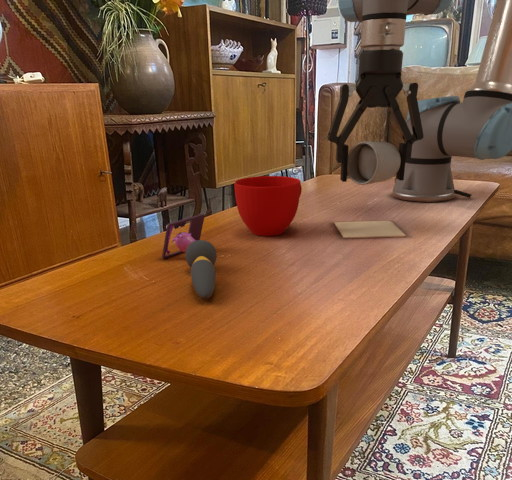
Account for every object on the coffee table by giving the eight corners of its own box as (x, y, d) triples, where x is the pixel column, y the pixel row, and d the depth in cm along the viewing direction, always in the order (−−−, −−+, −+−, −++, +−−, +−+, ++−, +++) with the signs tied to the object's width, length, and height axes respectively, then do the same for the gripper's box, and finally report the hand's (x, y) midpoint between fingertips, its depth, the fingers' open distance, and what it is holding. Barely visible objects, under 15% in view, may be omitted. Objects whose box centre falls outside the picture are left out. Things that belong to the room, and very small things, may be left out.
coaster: (390, 222, 111) (390, 220, 110) (405, 236, 100) (405, 235, 100) (334, 223, 110) (334, 222, 110) (343, 238, 100) (343, 236, 100)
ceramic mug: (402, 181, 100) (406, 139, 97) (375, 187, 95) (379, 142, 92) (358, 176, 107) (361, 137, 104) (332, 181, 103) (334, 140, 99)
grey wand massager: (233, 302, 72) (231, 267, 69) (197, 306, 71) (194, 271, 68) (213, 260, 89) (211, 232, 87) (184, 263, 88) (181, 234, 86)
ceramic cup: (323, 226, 108) (325, 176, 104) (271, 244, 97) (271, 189, 93) (276, 217, 116) (276, 171, 112) (223, 233, 105) (220, 182, 101)
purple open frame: (200, 211, 93) (164, 221, 87) (221, 224, 91) (186, 236, 85) (193, 244, 97) (158, 256, 91) (214, 257, 95) (179, 270, 89)
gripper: (319, 49, 87) (315, 184, 97) (454, 46, 88) (436, 181, 97) (314, 52, 94) (310, 178, 104) (439, 49, 94) (424, 175, 104)
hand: (371, 179), depth 101 cm, fingers closed on ceramic mug, 10 cm apart
